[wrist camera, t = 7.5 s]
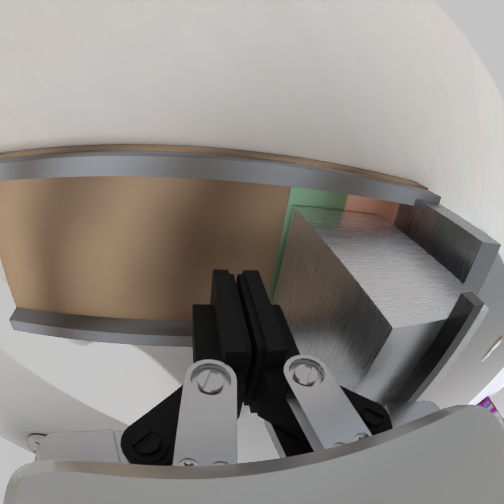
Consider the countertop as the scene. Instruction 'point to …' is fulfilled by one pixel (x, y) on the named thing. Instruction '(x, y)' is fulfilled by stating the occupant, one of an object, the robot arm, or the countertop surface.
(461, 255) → the upright gray plate
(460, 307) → the block
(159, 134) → the countertop surface
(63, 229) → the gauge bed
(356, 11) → the countertop surface
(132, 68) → the countertop surface
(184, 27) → the countertop surface
